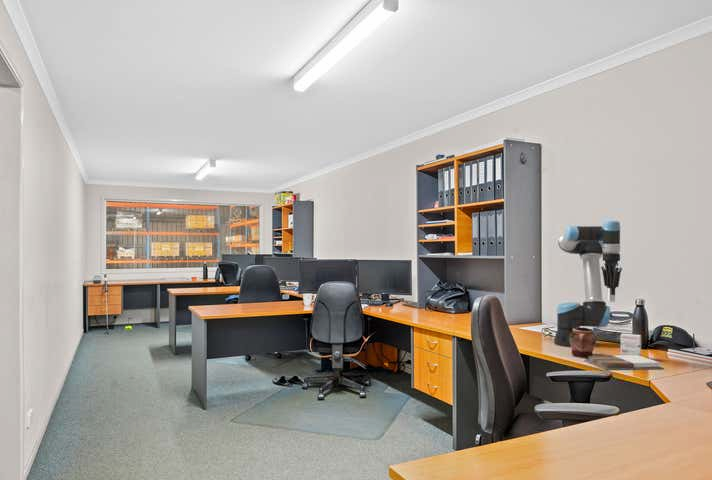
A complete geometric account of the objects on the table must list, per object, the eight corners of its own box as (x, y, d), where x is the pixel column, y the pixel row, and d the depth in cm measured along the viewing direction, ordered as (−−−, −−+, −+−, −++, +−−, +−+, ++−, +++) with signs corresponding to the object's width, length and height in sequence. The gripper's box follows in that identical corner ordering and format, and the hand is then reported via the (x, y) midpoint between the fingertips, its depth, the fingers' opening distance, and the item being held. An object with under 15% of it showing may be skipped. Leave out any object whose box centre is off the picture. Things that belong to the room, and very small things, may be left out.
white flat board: (613, 359, 228) (613, 355, 228) (637, 359, 229) (637, 354, 229) (634, 367, 213) (634, 363, 213) (659, 366, 214) (659, 362, 214)
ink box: (641, 358, 234) (641, 334, 234) (640, 360, 230) (640, 336, 230) (621, 356, 239) (621, 332, 239) (620, 358, 235) (620, 334, 235)
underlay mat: (583, 360, 228) (583, 359, 228) (638, 360, 230) (638, 359, 230) (605, 370, 211) (605, 368, 211) (663, 369, 213) (663, 367, 213)
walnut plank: (588, 360, 227) (588, 356, 227) (612, 359, 228) (612, 355, 228) (607, 368, 212) (607, 363, 212) (633, 367, 213) (633, 363, 213)
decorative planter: (597, 362, 226) (597, 332, 226) (569, 359, 231) (569, 330, 231) (595, 353, 244) (595, 326, 244) (569, 351, 249) (569, 325, 249)
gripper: (596, 252, 238) (596, 300, 237) (612, 252, 225) (612, 303, 224) (610, 252, 238) (610, 300, 238) (627, 253, 225) (627, 303, 225)
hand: (611, 301), depth 231 cm, fingers closed
